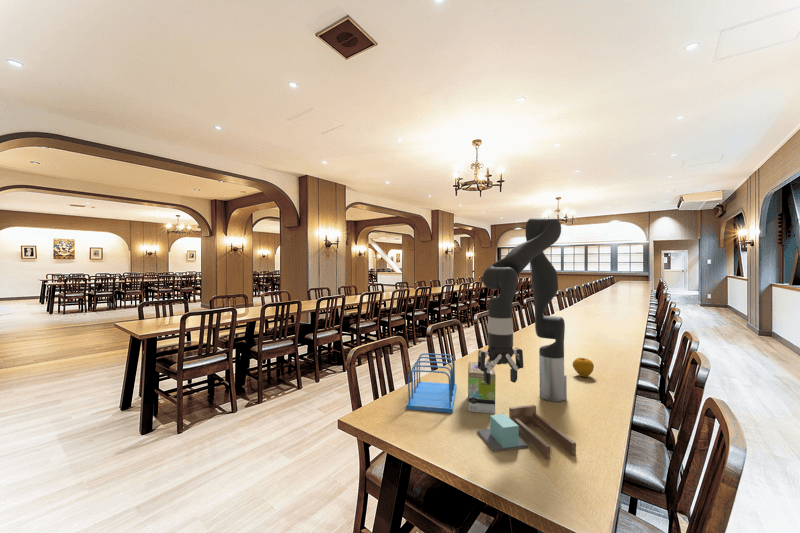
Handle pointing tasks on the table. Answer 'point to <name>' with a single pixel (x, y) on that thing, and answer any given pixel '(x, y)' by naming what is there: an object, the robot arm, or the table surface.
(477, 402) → the tea box
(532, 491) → the table surface
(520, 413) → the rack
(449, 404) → the file sorter
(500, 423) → the teal blank
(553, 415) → the table surface
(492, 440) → the felt mat
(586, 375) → the apple
